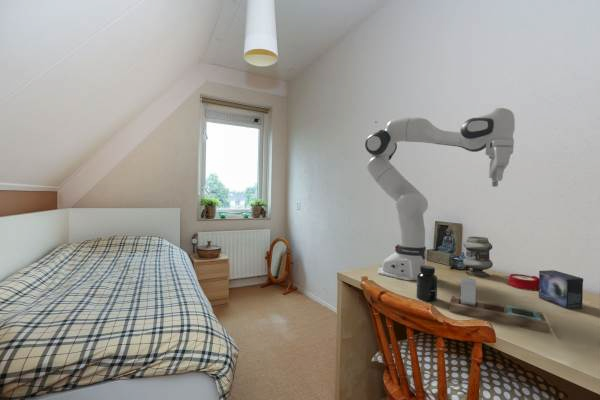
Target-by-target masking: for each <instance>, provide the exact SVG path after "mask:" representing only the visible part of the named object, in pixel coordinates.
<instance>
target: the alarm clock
mask: <svg viewBox="0 0 600 400" xmlns="http://www.w3.org/2000/svg"><path fill="white" fill-rule="evenodd" d="M502 276H503V277H505V278H509V279H508V280H507V286H511V287H514V288H516V289H521V290H528V291H537V290H538V291H539V276H536V275H531V276H530V275H527V274H526V275H525V274H521V273H512V274H510V275H509V276H505V275H502Z"/></svg>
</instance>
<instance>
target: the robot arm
mask: <svg viewBox="0 0 600 400" xmlns="http://www.w3.org/2000/svg"><path fill="white" fill-rule="evenodd" d="M515 121H516V120H515V115H514V112H513V111H512V110H510V109H508V108H503V107H498V108H494V109H491V110H490V111H488V113H486V114H483V115H481V116H477V117H472V118H469V119H467V120H466V121H464V122H463V123H462V125H461V127H460V131H459V132H458V131H448V130H442V129H440V128H438V127H437V126H435V125H434V124H433V123H432V122H430V121H429V120H428V119H426V118H424V117H423V118H422V117H414V116H413V117H399V118H398V117H397V118H394V119H390V120H389V121H388V123H387V124H386V127H385V130H384V129H380V130H378V131H377V132H374V133H372V134H370V135H369V136H367V138H366V140H365V142H364V143H365V145H364V147H365V150H366V151H367V153H369V154H370V155H371V158H370V159H369V160H368V162H367V164H366V168H367V170H368V172H369V174H370V176H371V177H372V178H373V179H374V181H375V182H376V183H377V184H378V185H379V186H380V188H381V189H382V190H383V191H384V192H385V193H386V195H388V196H389V197H391V198H392V199H393V200H394V201H396V204H395V206H396V210H397V218H398V224H399V243H397V244H396V245H395V246H394V251H395V252H393V253H392V254H391V255H389V256H388V257H386V258H385V259H384V260H383V262H382V266H381V267H379V268H378V269H377V274H378V275H382V276H386V277H391V278H395V279H400V280H404V281H417V275H418V274H419V273H421V272H420V266H427V264H426V258H427V246H426V228H425V221H424V213H426V211H427V210H428V207H429V202H428V199H427V198H426V196H425V195H424V194H423V193H421V192H420V190H419V189H418V188H417V187H415V186H414V185H413V184H412V183H411V182H409V180H407V179H406V177H404V175H402V174H401V173H400V171H399V170H397V168H396V167H395V166H394V165H393V164H392V163H391V162H390V160H391V159H392V157H393V156H394V154H395V153H396V151H397V150H398V149H397V147H398V144H397V143H399V142H405V143H406V142H408V143H409V142H410V143H426V144H435V145H441V146H442V145H443V146H448V147H449V146H451V147H458V148H461V149H464V150H466V151H468V152H471V153H474V152H475V153H476V152H480V151H483V150H484V149H485V155H486V156H488V159H490V162H489V169H488V178H489V179H491V187H492V188H498V185H499V182H501V181H502V180H503V177H504V172H505V170H506V168H507V167H508V165H509V163H510V159H511V155H513V153H514V145H515V139H514V134H515V133H514V132H515V127H516V124H515V123H516V122H515Z"/></svg>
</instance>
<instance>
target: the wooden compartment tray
mask: <svg viewBox="0 0 600 400" xmlns="http://www.w3.org/2000/svg"><path fill="white" fill-rule="evenodd" d="M448 307H449V310H448V311H449V312H450V313H455V314H458V315H459V314H460V315H463V316H468V317H473V318H479V319H483V320H488V321H492V322H497V323H502V324H506V325H511V326H517V327H521V328H525V329H530V330H536V331H539V332H545V333H548V331H549V329H548V328H549V322H548V320H547V319H546V317H545V315H544V313H543V312H542V311H540V310H539V311H538V310H533V309H527V308H522V307H518V306H511V305H506V304H505V305H504V304H499V303H493V302H488V301H483V300H478V299H476V300H475V307H472V306H467V305H462V304H461V296H455V295H451V298H450V301H449V306H448Z"/></svg>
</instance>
